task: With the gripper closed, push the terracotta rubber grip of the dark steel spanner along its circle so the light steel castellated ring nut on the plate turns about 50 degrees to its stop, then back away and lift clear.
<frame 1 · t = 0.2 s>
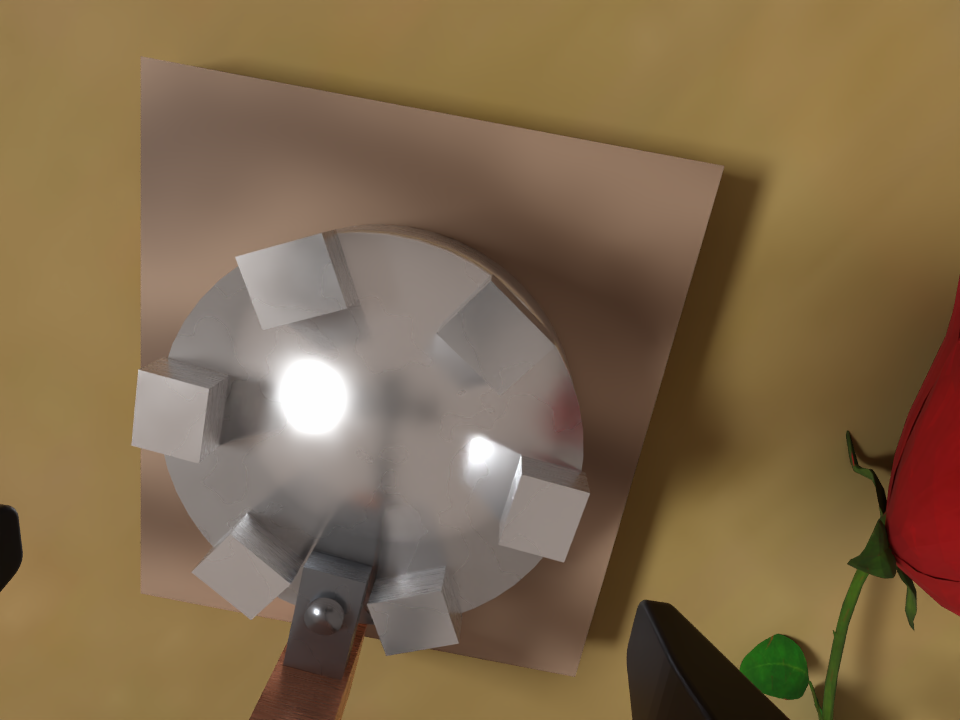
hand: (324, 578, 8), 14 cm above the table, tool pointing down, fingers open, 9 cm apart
flower: (843, 609, 25), on the table
nut housing: (400, 391, 23), on the table
ring nut: (346, 533, 18), point 6 cm above the table, hinge at 0.0°
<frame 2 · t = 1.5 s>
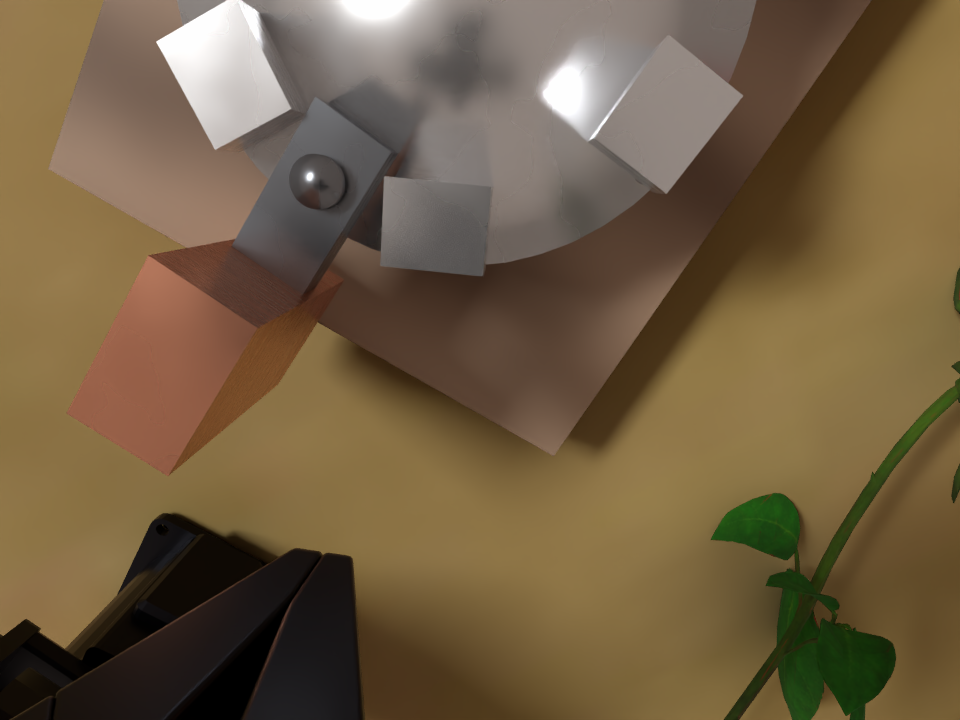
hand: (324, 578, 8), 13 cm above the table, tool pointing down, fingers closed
flower: (854, 489, 22), on the table
nut housing: (475, 28, 18), on the table
ring nut: (387, 77, 13), point 6 cm above the table, hinge at 0.0°
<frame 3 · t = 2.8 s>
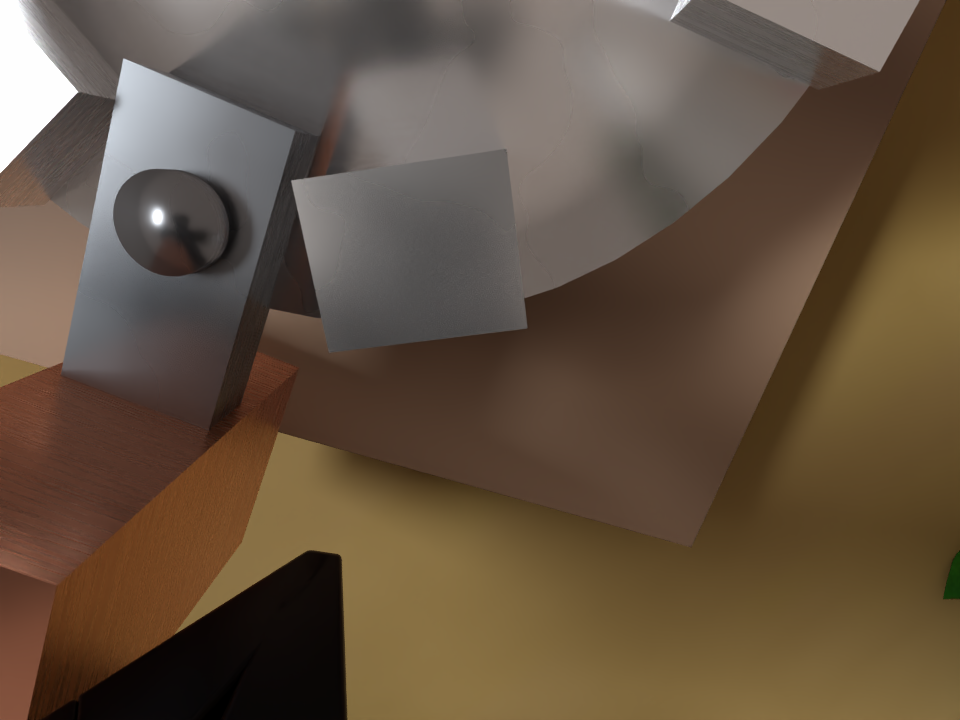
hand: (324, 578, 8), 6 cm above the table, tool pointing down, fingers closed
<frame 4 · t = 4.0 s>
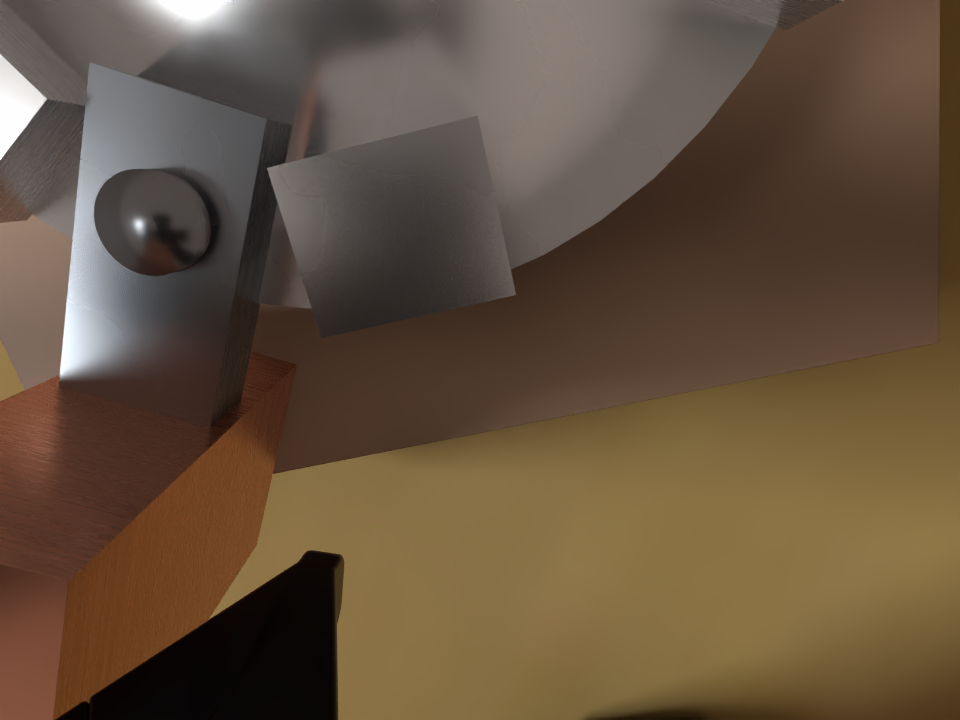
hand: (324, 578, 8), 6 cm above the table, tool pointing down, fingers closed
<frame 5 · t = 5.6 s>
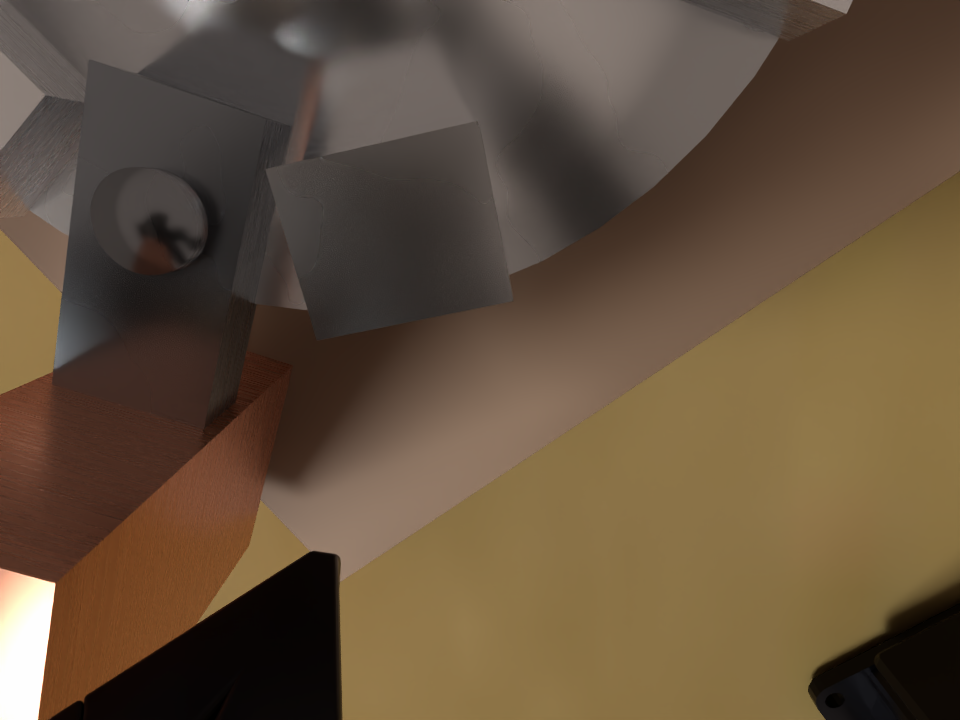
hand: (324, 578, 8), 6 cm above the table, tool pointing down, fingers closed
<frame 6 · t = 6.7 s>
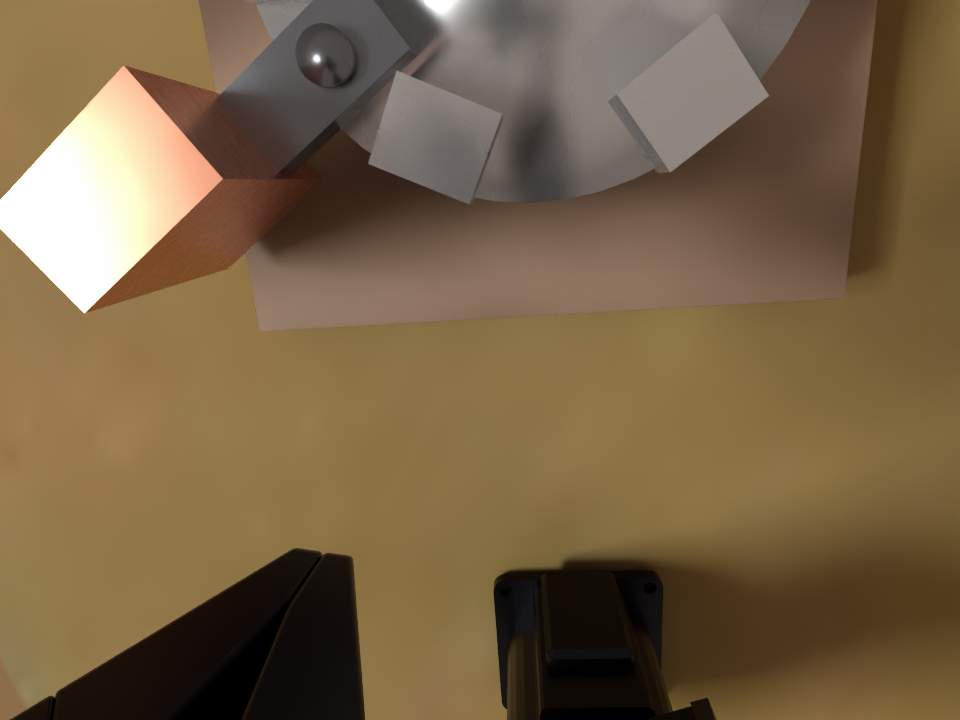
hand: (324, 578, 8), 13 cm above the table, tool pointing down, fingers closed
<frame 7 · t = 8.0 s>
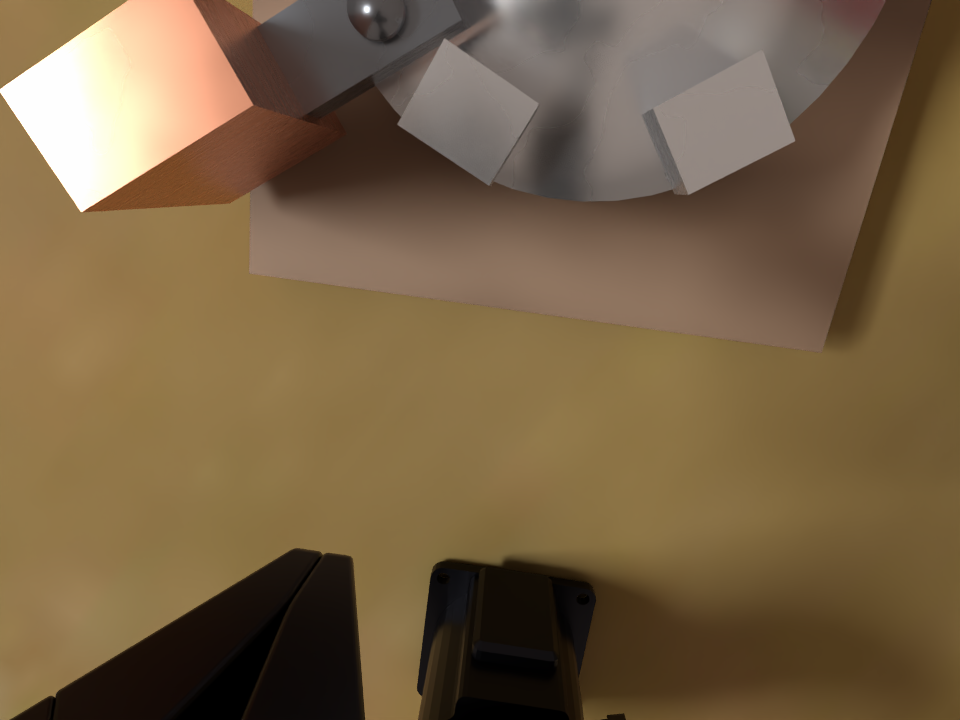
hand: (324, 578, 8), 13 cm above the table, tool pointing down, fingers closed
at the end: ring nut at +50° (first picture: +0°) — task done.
